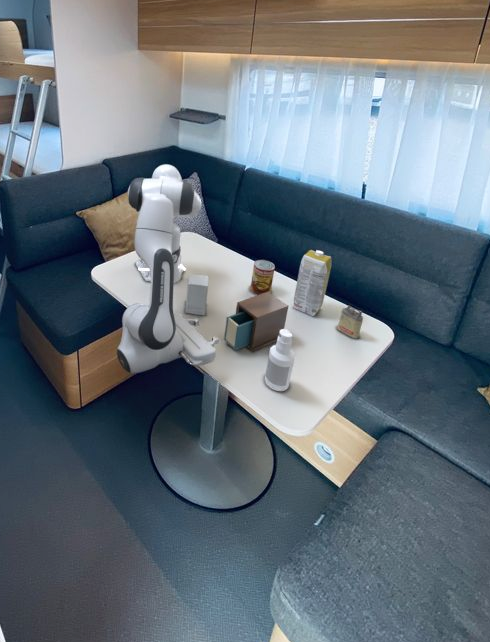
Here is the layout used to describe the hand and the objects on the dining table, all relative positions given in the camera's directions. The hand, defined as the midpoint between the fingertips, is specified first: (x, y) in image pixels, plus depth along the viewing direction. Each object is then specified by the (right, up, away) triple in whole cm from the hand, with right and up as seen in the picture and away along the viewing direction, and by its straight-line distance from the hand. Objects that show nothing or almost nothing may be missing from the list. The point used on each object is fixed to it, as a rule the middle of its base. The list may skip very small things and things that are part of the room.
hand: (208, 330), depth 126 cm
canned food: (+28, +3, +40) cm, 49 cm away
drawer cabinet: (+20, -7, +14) cm, 25 cm away
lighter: (+52, -7, +17) cm, 55 cm away
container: (+15, -6, +11) cm, 19 cm away
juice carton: (+43, -2, +29) cm, 52 cm away
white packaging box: (0, -1, +28) cm, 28 cm away
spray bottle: (+19, -14, -5) cm, 24 cm away
